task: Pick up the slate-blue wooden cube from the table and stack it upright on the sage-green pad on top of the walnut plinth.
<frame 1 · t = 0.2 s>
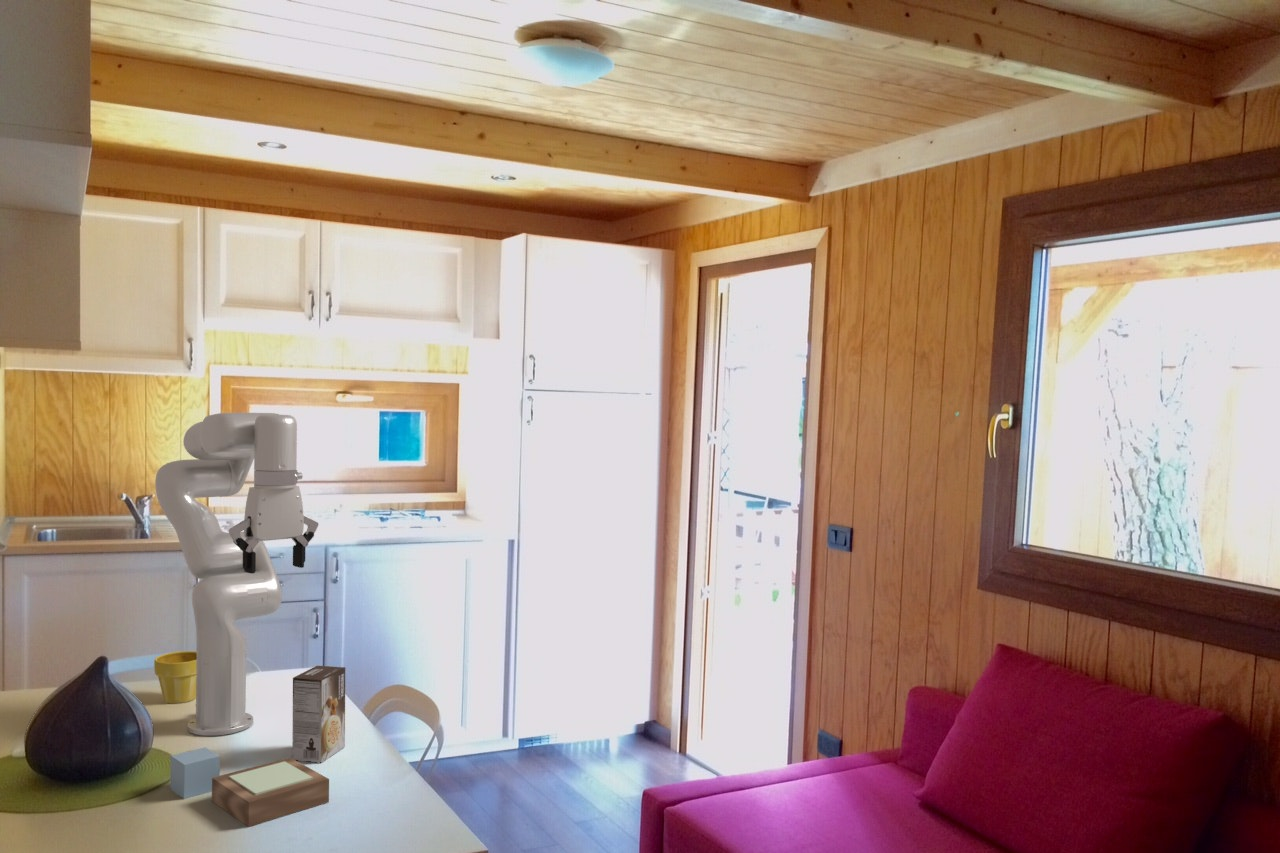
hand: (274, 569, 185), 36 cm above the table, tool pointing down, fingers open, 9 cm apart
cube: (194, 789, 171), on the table
plant pot: (179, 700, 221), on the table
coffee box: (318, 754, 189), on the table
plinth: (270, 801, 167), on the table
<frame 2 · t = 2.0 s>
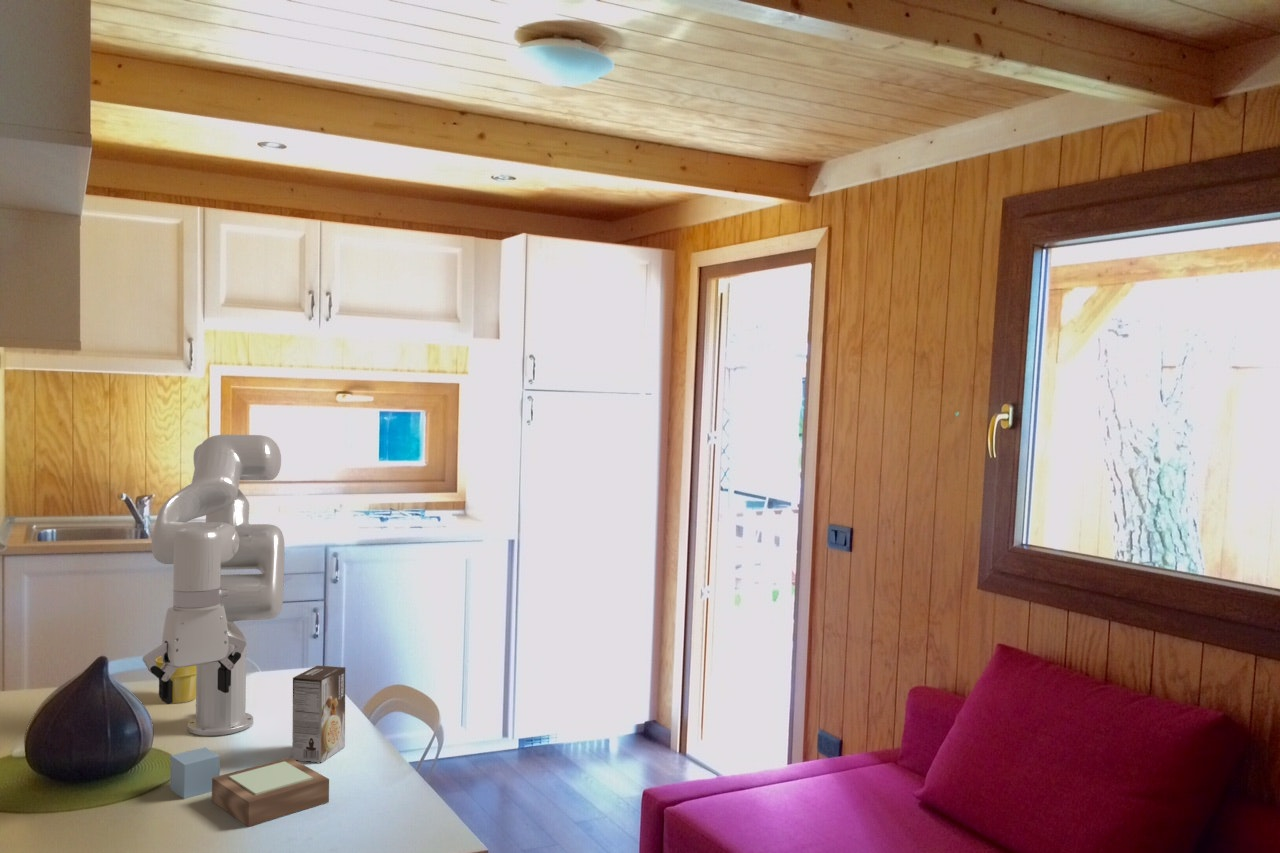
hand: (195, 696, 170), 16 cm above the table, tool pointing down, fingers open, 9 cm apart
nothing on the table moved.
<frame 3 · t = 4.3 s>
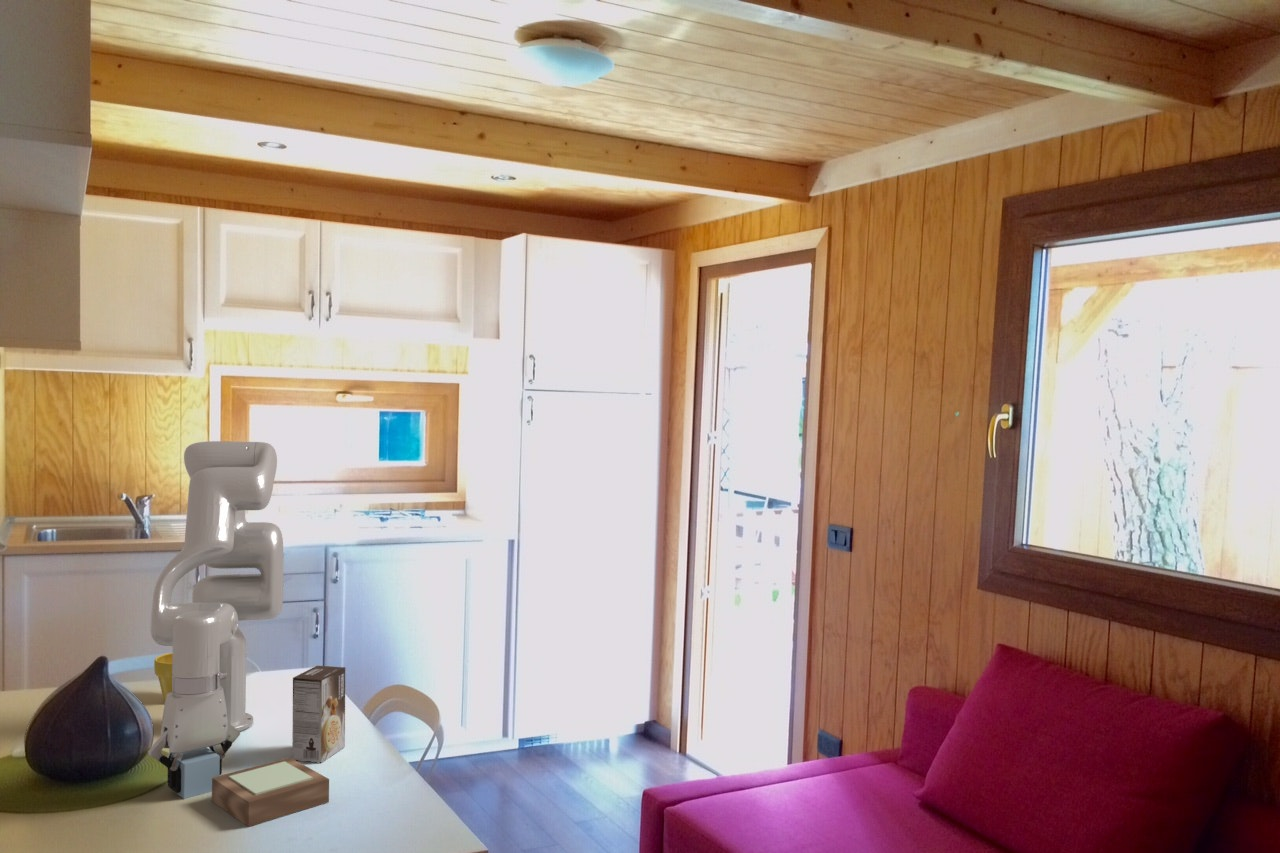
hand: (194, 784, 171), 1 cm above the table, tool pointing down, fingers closed on cube, 6 cm apart
cube: (194, 789, 171), on the table, touching gripper
everything else where it was.
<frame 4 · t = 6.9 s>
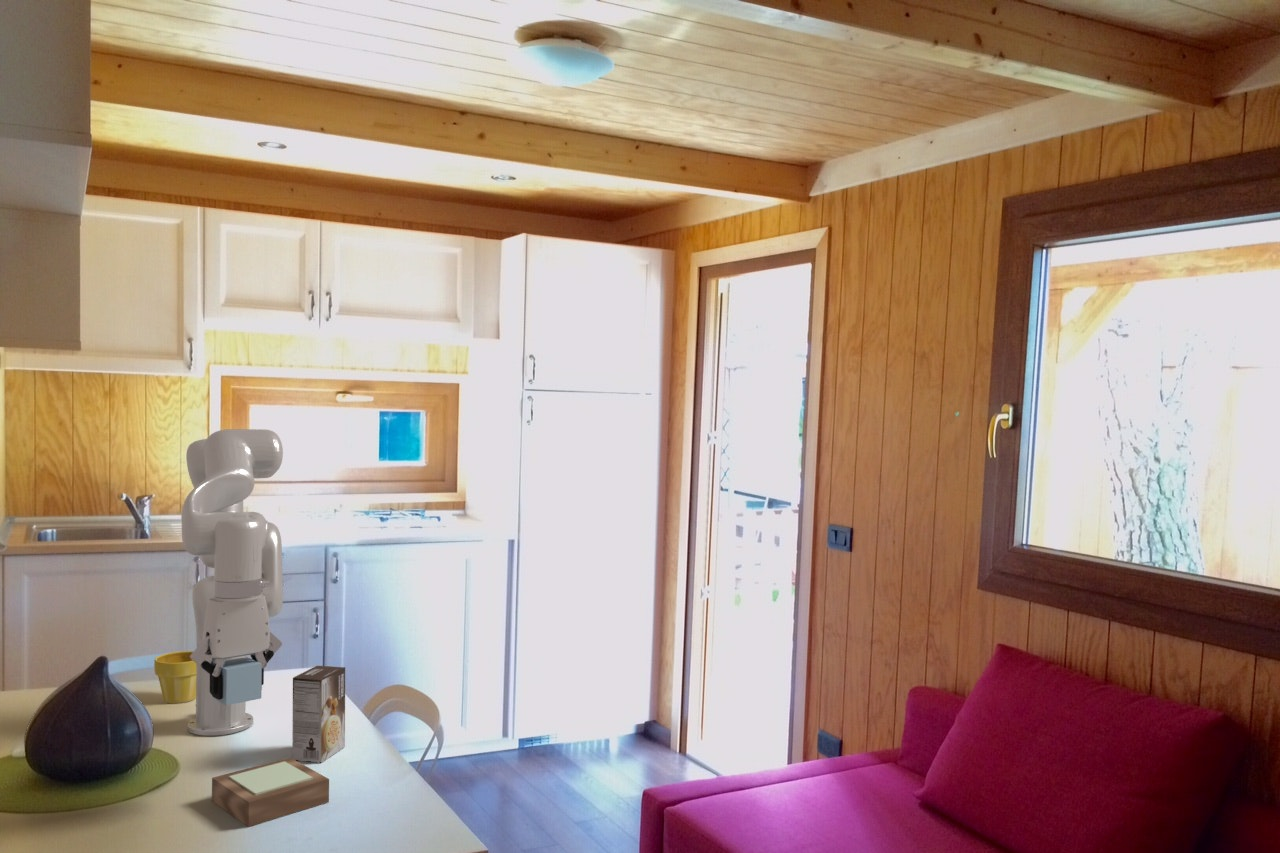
hand: (236, 692, 168), 18 cm above the table, tool pointing down, fingers closed on cube, 6 cm apart
cube: (236, 697, 168), point 17 cm above the table, touching gripper
everything else where it was.
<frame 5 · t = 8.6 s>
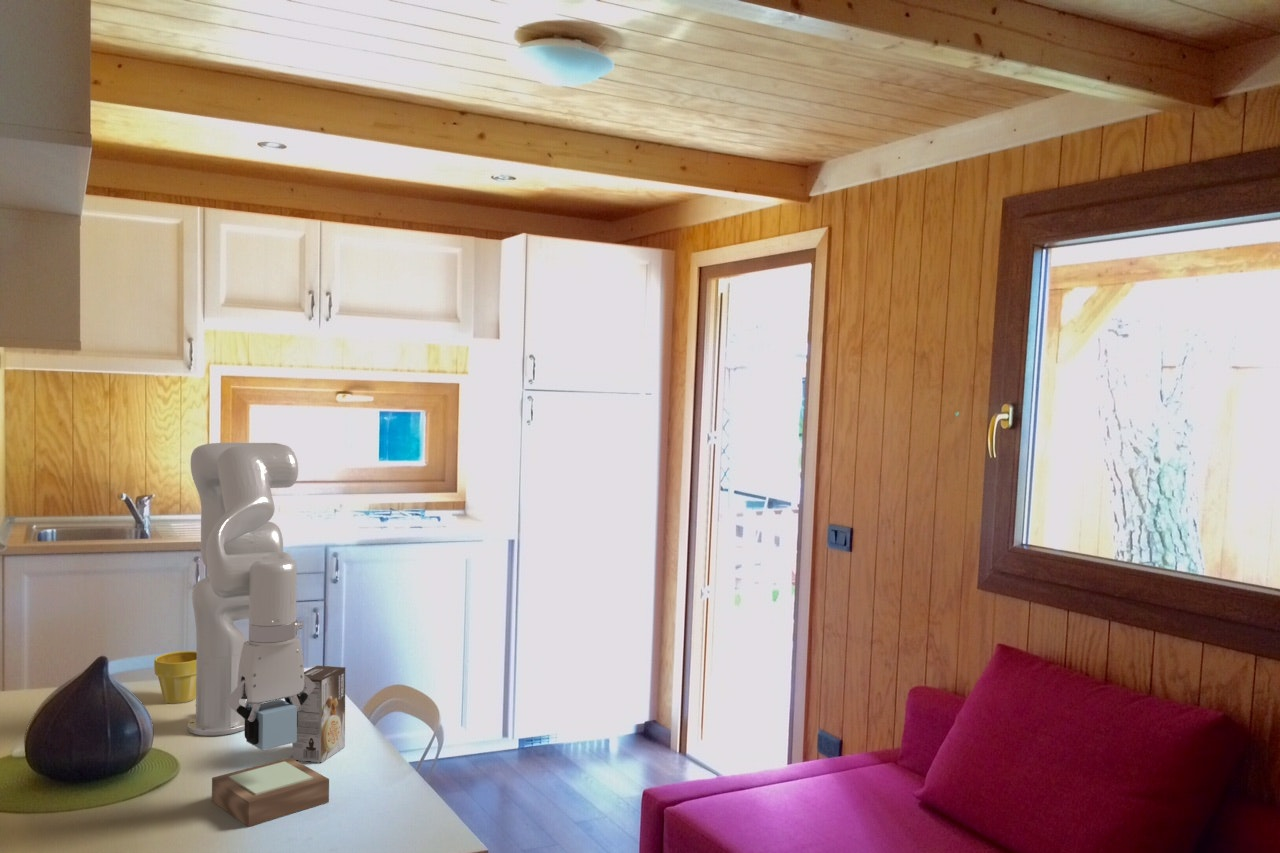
hand: (271, 736, 166), 11 cm above the table, tool pointing down, fingers closed on cube, 6 cm apart
cube: (271, 741, 166), point 10 cm above the table, touching gripper
everything else where it was.
when the fingers open (6 cm above the table, at t = 9.9 s): cube drops 1 cm, resting on plinth.
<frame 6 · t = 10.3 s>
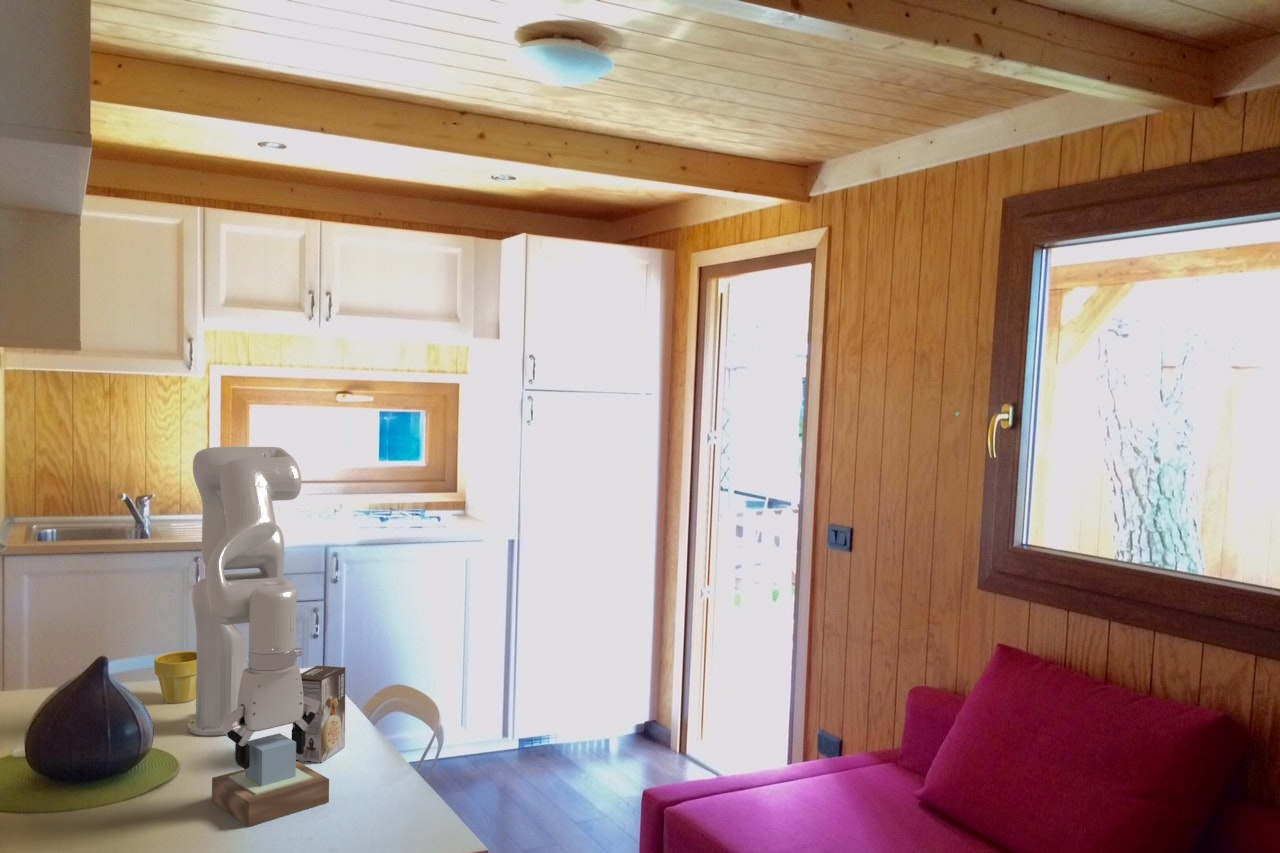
hand: (270, 759, 166), 7 cm above the table, tool pointing down, fingers open, 9 cm apart
cube: (270, 776, 167), point 4 cm above the table, touching plinth
everything else where it was.
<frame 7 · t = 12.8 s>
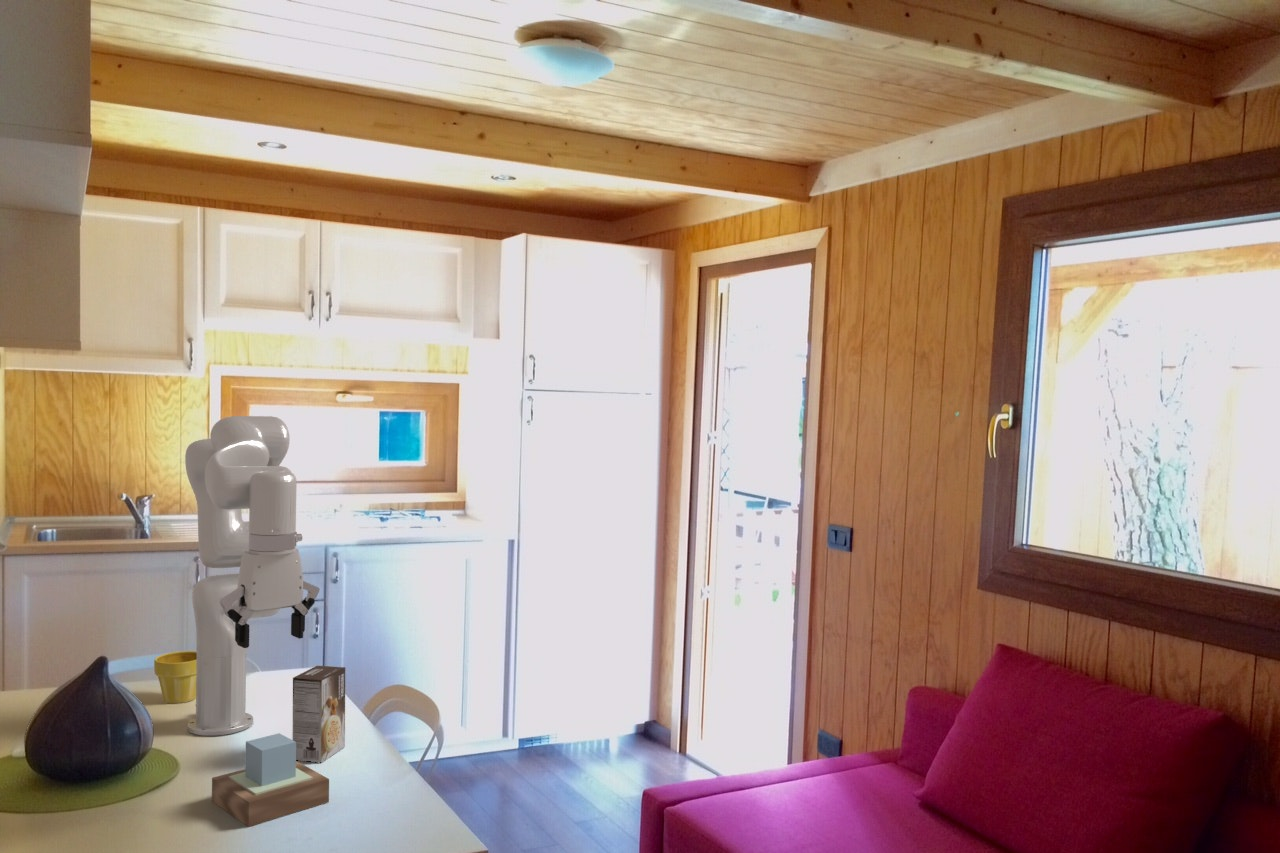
hand: (270, 641, 168), 27 cm above the table, tool pointing down, fingers open, 9 cm apart
nothing on the table moved.
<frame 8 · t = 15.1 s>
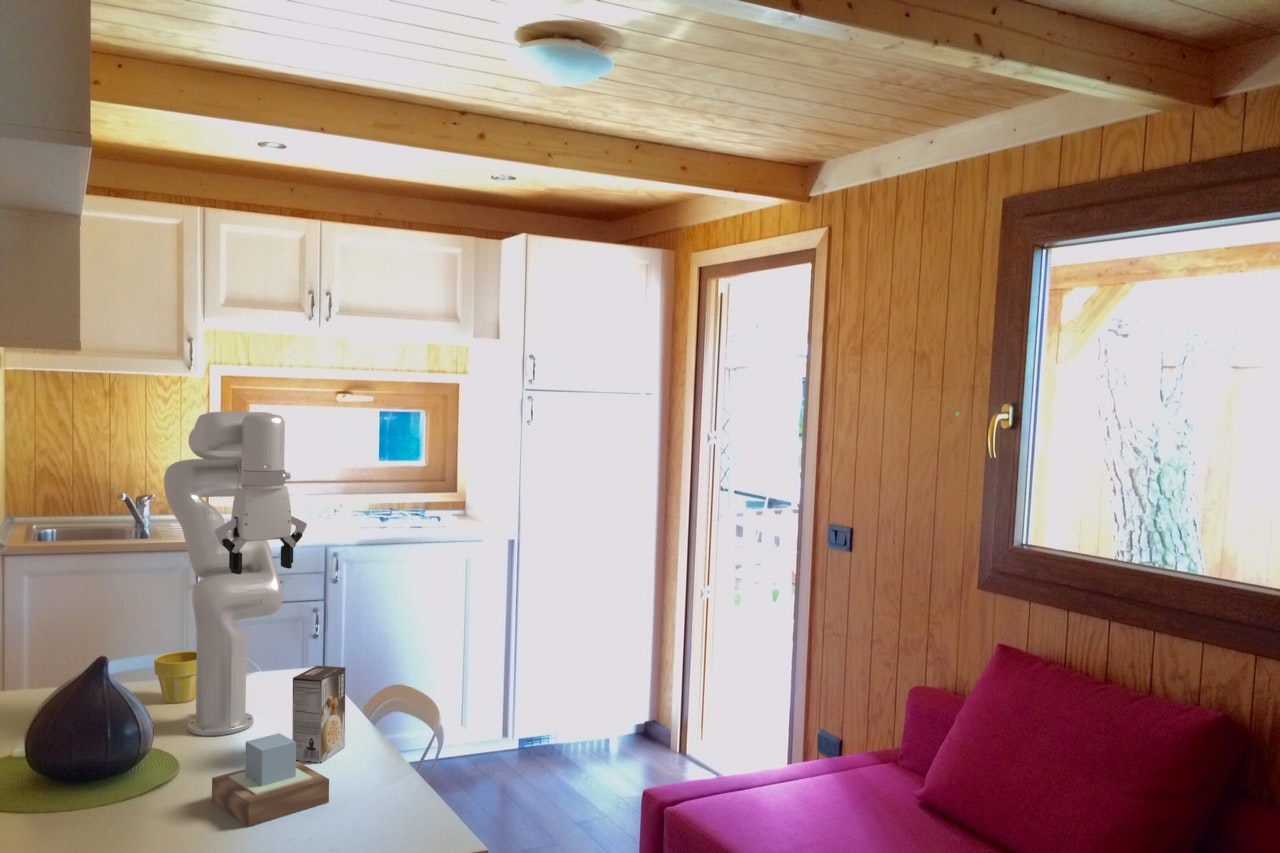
hand: (261, 570, 184), 36 cm above the table, tool pointing down, fingers open, 9 cm apart
nothing on the table moved.
at the end: cube inside the target area on the plinth (0.1 cm from its centre), point 4.3 cm above the plinth's base; cube tilted 0°; the gripper is holding nothing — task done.
